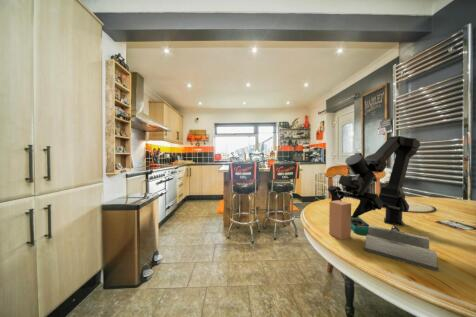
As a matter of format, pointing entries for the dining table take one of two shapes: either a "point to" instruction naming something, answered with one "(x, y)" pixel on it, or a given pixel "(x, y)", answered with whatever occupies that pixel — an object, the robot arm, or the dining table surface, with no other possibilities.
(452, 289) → the dining table surface
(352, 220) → the digital multimeter
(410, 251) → the bench vise
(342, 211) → the terracotta block
